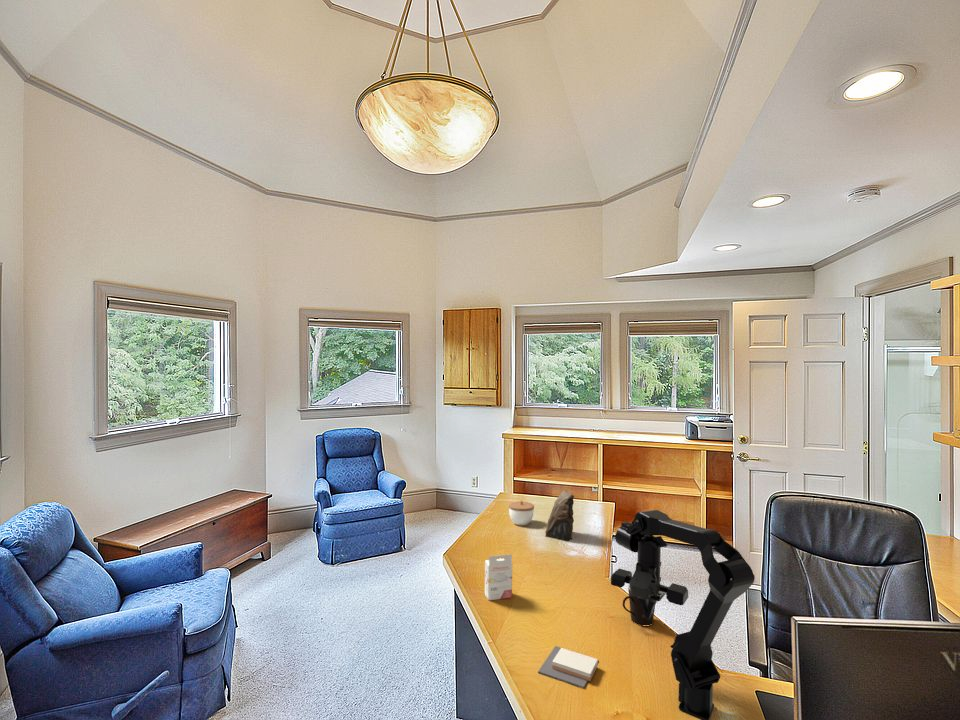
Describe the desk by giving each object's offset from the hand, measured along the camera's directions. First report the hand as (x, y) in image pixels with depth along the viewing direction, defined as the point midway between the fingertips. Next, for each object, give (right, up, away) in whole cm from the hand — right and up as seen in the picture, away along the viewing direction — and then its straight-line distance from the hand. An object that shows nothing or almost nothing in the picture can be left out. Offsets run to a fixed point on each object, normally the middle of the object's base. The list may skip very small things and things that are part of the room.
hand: (647, 618), depth 128 cm
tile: (-15, -11, -3) cm, 19 cm away
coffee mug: (+5, -14, +24) cm, 28 cm away
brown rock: (-8, -14, +98) cm, 99 cm away
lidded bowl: (-24, -14, +114) cm, 118 cm away
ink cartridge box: (-38, -13, +38) cm, 55 cm away
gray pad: (-21, -13, 0) cm, 24 cm away
